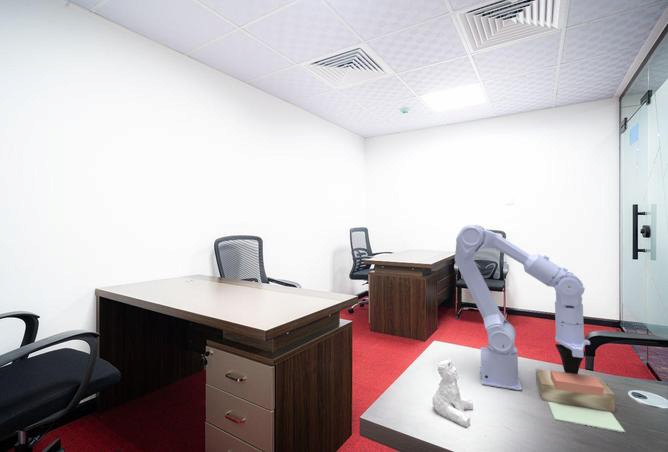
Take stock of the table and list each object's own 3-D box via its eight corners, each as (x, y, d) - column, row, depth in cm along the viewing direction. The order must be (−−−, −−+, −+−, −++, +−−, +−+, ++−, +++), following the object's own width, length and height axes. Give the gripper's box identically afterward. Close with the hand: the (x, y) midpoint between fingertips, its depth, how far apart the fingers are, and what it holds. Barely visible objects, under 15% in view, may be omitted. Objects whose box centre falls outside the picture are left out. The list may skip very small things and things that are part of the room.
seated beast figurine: (469, 429, 68) (468, 372, 68) (428, 419, 72) (426, 365, 72) (473, 407, 76) (472, 356, 77) (436, 399, 80) (435, 351, 81)
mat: (554, 419, 71) (554, 418, 71) (548, 403, 78) (548, 401, 78) (624, 432, 66) (624, 431, 66) (610, 413, 73) (610, 412, 73)
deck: (542, 400, 79) (541, 383, 79) (536, 384, 87) (535, 369, 87) (614, 412, 73) (614, 394, 73) (600, 393, 81) (600, 377, 81)
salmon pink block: (556, 389, 76) (555, 380, 76) (550, 378, 82) (550, 370, 82) (603, 396, 72) (603, 387, 72) (594, 384, 78) (594, 376, 78)
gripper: (599, 331, 73) (601, 392, 72) (580, 315, 86) (581, 367, 86) (561, 328, 76) (563, 386, 75) (548, 313, 89) (550, 363, 89)
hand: (570, 376), depth 81 cm, fingers closed
